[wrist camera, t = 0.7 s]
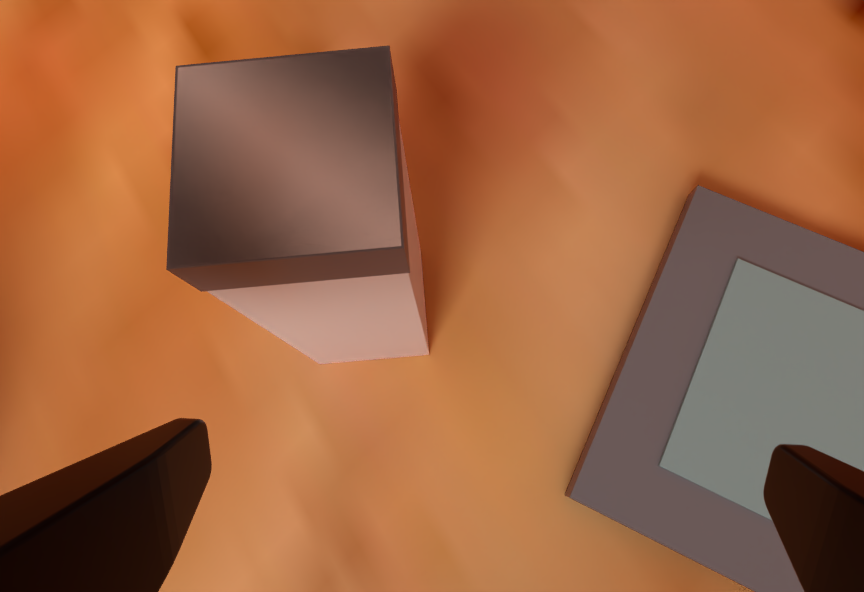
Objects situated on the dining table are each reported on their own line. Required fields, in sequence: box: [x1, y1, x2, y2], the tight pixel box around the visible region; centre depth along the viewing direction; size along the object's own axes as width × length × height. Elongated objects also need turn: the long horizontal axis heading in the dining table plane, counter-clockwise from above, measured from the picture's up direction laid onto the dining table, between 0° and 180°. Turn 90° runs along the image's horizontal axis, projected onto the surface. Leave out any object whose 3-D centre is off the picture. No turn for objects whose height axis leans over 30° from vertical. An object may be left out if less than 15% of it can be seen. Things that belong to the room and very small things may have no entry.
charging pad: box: [565, 185, 864, 592], centre depth 22 cm, size 14×14×1 cm
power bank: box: [167, 46, 429, 364], centre depth 18 cm, size 5×5×13 cm
